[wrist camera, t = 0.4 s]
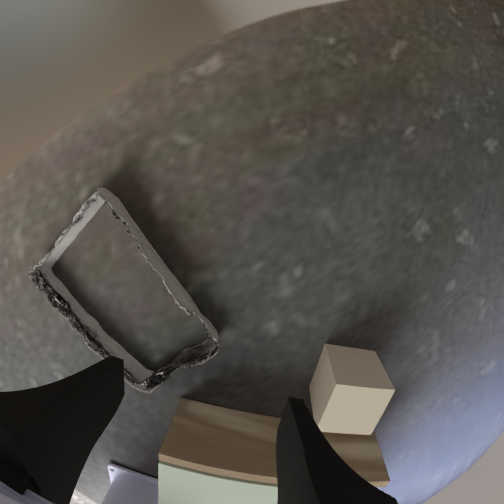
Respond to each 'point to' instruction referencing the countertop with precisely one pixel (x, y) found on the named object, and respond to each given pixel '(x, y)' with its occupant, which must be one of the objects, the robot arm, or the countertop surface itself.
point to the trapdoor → (209, 488)
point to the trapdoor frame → (252, 444)
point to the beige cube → (349, 390)
